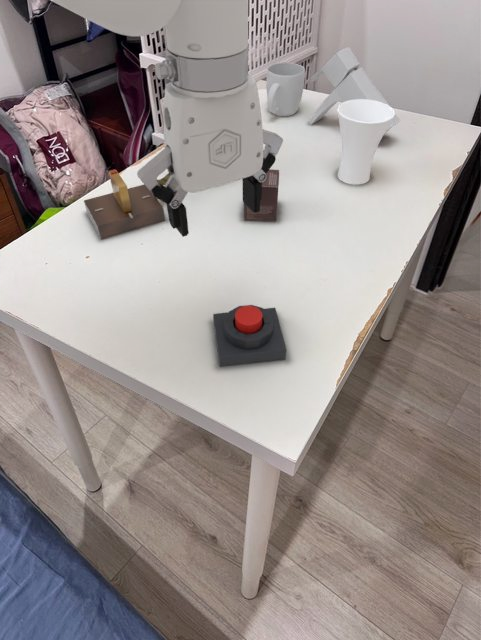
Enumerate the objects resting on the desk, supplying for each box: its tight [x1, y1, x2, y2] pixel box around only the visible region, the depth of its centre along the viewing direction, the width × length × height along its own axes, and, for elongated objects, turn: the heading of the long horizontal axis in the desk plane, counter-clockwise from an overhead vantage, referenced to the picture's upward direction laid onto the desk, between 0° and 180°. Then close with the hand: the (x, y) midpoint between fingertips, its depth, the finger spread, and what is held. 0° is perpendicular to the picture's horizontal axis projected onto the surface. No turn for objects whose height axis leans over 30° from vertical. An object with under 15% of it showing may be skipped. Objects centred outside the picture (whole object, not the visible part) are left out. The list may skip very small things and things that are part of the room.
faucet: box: [309, 46, 401, 133], centre depth 107 cm, size 6×16×20 cm
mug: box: [265, 61, 306, 117], centre depth 113 cm, size 13×9×10 cm
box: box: [243, 168, 280, 223], centre depth 84 cm, size 6×6×7 cm
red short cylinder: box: [235, 305, 262, 334], centre depth 62 cm, size 4×4×2 cm
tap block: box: [83, 184, 166, 241], centre depth 85 cm, size 12×10×3 cm
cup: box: [337, 99, 396, 186], centre depth 91 cm, size 10×10×14 cm
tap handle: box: [108, 169, 132, 213], centre depth 82 cm, size 6×1×5 cm, turn 28°
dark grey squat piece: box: [212, 304, 287, 368], centre depth 64 cm, size 9×8×4 cm
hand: (216, 218), depth 57 cm, fingers open, 9 cm apart
